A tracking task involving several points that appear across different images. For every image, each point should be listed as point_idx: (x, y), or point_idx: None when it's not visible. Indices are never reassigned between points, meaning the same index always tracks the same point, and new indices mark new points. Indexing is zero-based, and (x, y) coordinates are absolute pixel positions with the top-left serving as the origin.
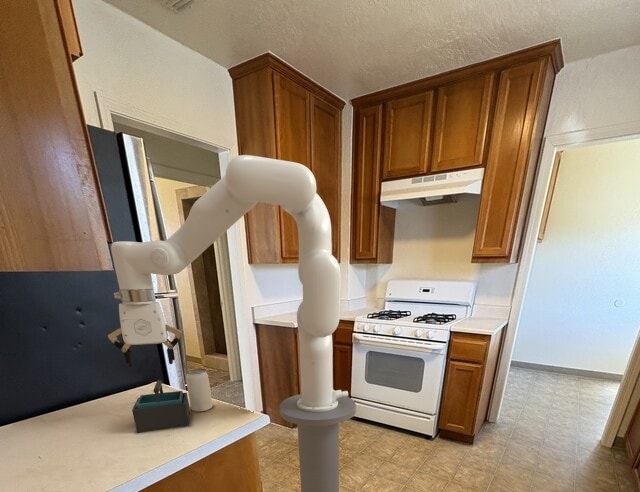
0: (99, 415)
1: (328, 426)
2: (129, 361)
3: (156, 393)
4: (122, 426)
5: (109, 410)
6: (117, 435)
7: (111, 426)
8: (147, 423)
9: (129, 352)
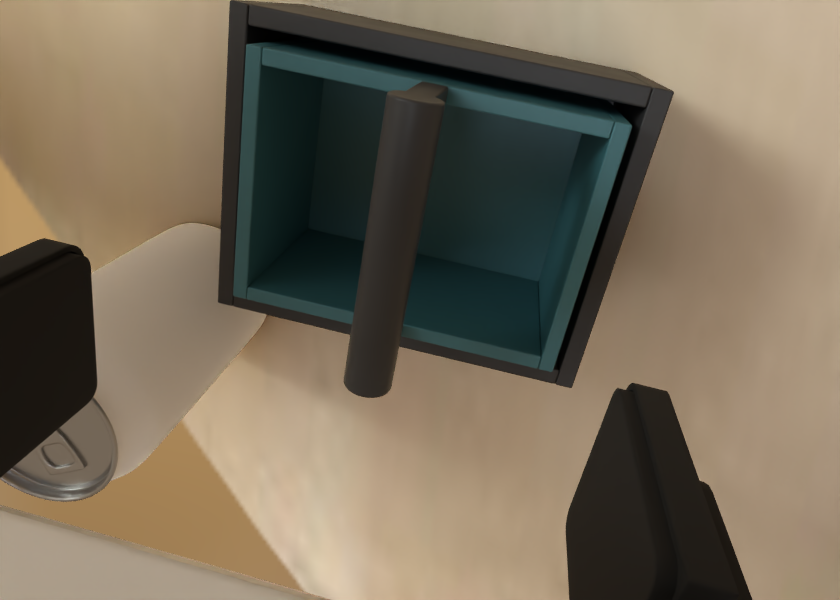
0: (783, 509)
1: None
2: (664, 436)
3: (424, 92)
4: (701, 254)
5: None
6: (764, 106)
7: (762, 294)
8: (564, 61)
9: (655, 581)
